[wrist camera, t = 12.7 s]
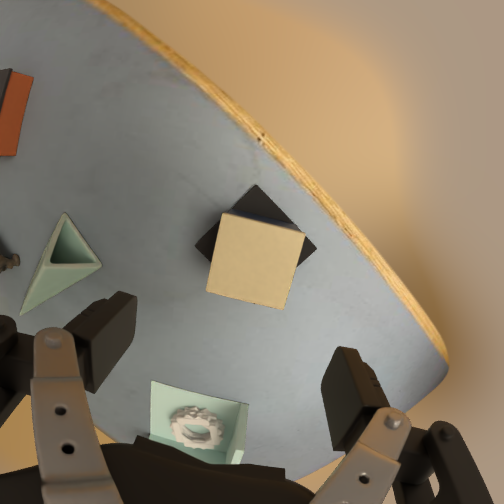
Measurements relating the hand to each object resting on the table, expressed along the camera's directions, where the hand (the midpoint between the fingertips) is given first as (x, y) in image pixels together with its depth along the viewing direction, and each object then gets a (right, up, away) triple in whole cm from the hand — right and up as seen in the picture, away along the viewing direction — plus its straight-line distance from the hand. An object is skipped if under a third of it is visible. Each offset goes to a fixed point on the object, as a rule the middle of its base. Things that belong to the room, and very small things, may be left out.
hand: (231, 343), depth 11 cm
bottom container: (-31, +21, +14) cm, 40 cm away
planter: (-23, -1, +19) cm, 30 cm away
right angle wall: (-7, -19, +23) cm, 31 cm away
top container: (+1, +4, +16) cm, 17 cm away
